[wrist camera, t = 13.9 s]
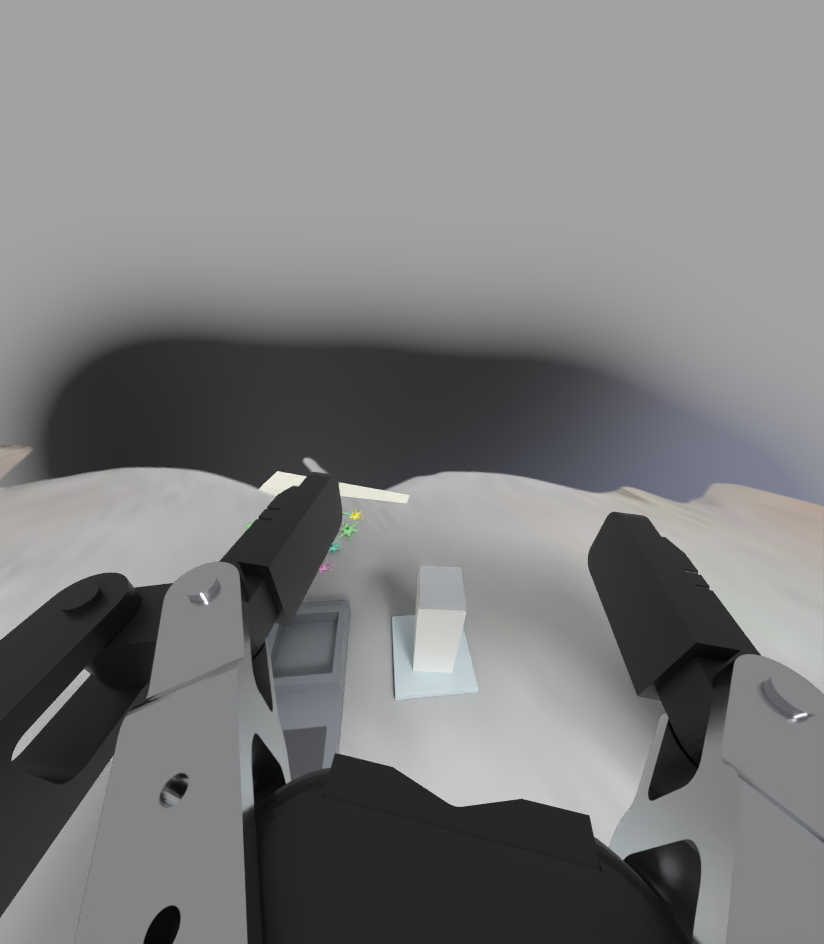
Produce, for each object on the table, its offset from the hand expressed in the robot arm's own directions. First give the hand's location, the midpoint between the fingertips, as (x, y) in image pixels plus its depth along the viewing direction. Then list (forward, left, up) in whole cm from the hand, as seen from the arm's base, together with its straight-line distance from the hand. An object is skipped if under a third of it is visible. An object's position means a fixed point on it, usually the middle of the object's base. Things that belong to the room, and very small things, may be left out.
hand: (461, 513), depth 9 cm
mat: (-3, -11, -32) cm, 34 cm away
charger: (-3, -11, -31) cm, 33 cm away
